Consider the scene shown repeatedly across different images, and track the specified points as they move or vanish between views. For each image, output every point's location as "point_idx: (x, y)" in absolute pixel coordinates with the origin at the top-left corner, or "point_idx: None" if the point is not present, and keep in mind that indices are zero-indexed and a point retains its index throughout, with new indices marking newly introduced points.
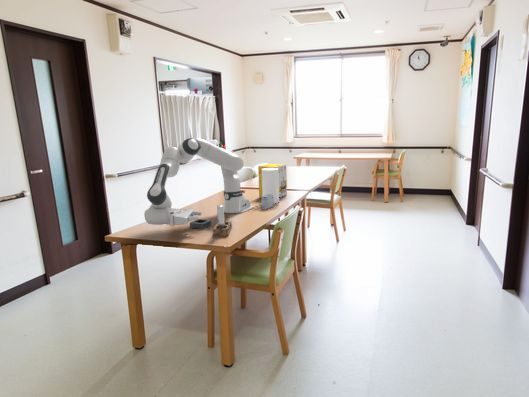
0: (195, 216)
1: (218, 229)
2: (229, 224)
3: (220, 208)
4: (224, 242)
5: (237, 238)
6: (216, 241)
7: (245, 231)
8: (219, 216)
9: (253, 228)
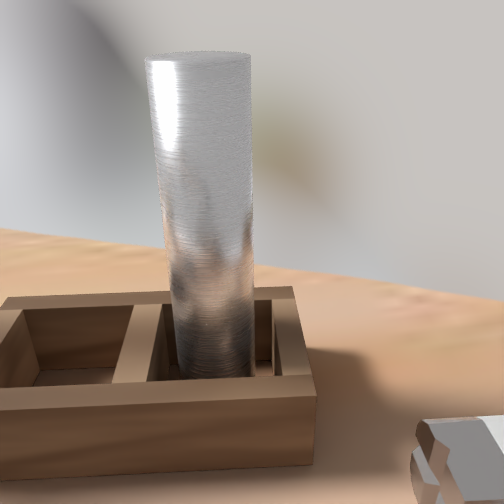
0: (473, 462)
1: (306, 351)
2: (126, 295)
3: (250, 87)
4: (474, 344)
5: (344, 291)
6: (478, 404)
7: (166, 274)
8: (250, 211)
9: (101, 250)
